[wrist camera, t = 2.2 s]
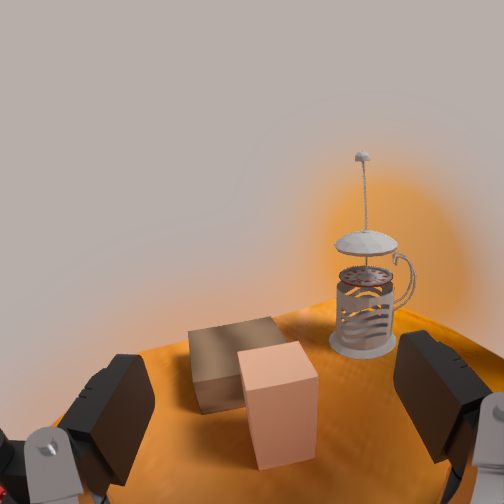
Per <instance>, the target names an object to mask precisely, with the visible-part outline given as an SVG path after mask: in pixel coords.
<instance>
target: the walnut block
mask: <svg viewBox="0 0 504 504" xmlns="http://www.w3.org/2000/svg"><path fill="white" fill-rule="evenodd" d="M188 338H189V349H190V360H191V370H192V379H193V385H194V389H195V392H196V396H197V399H198V403H199V406H200V410H201V413H202V415H205V414H211V413H217V412H222V411H228V410H233V409H238V408H243V407H246V405H245V399H244V392H243V386H242V380H241V373H240V367H239V360H238V354H237V352H239V351H245V350H251V349H257V348H263V347H269V346H274V345H280V344H285V343H288V342H287V340H286V339H285V337H284V336H283V334H282V333H281V331H280V330H279V328H278V327H277V325H276V324H275V322H274V321H273V319H272V318H271V317H266V318H260V319H255V320H251V321H245V322H240V323H234V324H229V325H223V326H218V327H212V328H206V329H201V330H194V331H188Z"/></svg>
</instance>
